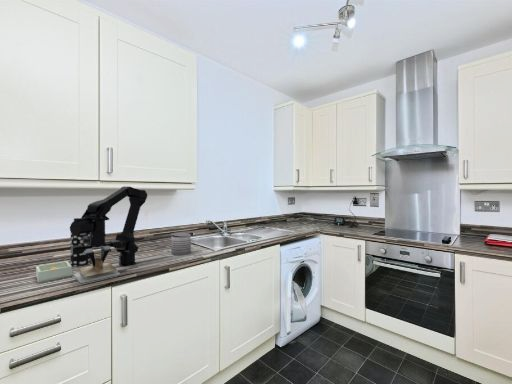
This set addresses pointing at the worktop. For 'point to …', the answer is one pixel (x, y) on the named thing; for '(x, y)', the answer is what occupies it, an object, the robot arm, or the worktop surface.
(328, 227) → the worktop surface
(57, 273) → the dish
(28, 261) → the worktop surface
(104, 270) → the cover
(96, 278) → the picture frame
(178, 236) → the can
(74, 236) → the white-spotted black cylinder
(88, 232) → the robot arm
